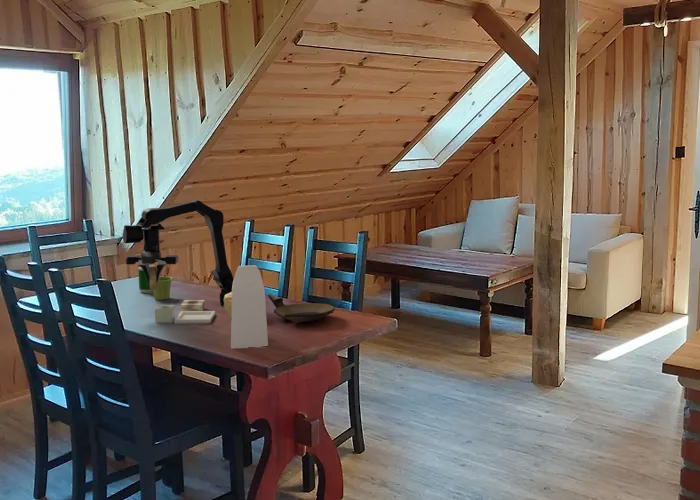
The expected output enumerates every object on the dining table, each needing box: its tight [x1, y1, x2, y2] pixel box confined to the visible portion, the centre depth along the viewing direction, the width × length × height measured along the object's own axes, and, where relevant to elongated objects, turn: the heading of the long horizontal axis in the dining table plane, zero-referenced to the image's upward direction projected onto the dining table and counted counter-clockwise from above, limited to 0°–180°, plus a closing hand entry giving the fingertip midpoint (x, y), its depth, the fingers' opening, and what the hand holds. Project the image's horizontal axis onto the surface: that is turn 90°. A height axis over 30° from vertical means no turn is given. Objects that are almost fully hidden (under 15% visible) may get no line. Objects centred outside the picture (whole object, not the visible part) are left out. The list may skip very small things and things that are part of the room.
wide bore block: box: [180, 299, 206, 312], centre depth 273 cm, size 8×8×4 cm
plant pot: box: [152, 276, 173, 301], centre depth 294 cm, size 9×9×9 cm
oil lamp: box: [267, 293, 336, 323], centre depth 261 cm, size 22×30×8 cm
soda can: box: [138, 263, 155, 294], centre depth 307 cm, size 8×8×12 cm
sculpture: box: [223, 292, 232, 318], centre depth 263 cm, size 12×12×11 cm
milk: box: [230, 264, 269, 350], centre depth 228 cm, size 12×12×26 cm
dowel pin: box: [149, 265, 157, 290], centre depth 266 cm, size 3×3×9 cm
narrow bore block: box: [154, 304, 176, 323], centre depth 258 cm, size 6×6×5 cm
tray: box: [173, 310, 216, 325], centre depth 260 cm, size 13×13×2 cm
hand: (153, 281), depth 266 cm, fingers closed on dowel pin, 3 cm apart
